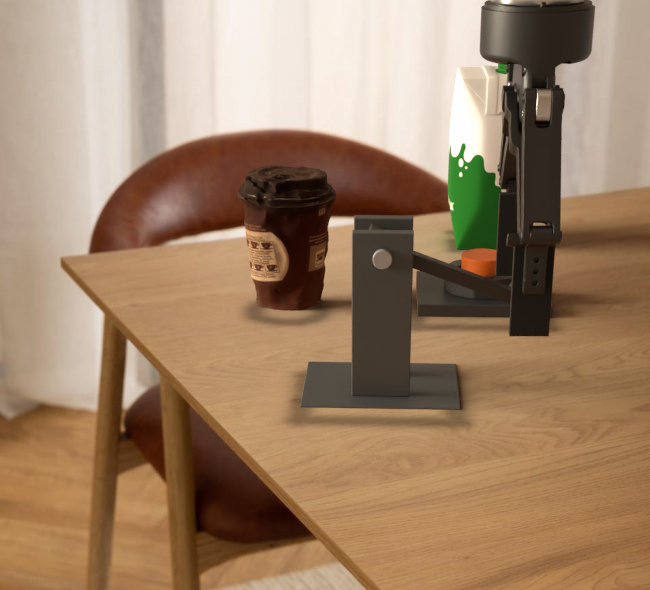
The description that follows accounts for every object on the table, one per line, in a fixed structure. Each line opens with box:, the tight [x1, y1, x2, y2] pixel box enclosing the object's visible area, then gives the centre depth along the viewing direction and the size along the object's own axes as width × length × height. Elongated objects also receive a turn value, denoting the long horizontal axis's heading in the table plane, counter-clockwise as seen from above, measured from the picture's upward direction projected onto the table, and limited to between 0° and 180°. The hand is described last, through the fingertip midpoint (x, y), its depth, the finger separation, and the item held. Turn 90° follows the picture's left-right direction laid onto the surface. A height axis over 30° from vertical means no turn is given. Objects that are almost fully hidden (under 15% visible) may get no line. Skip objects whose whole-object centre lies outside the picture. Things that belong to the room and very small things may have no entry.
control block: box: [415, 259, 554, 319], centre depth 110 cm, size 12×10×4 cm
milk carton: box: [447, 63, 507, 251], centre depth 126 cm, size 9×9×20 cm
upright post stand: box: [299, 214, 461, 411], centre depth 90 cm, size 12×9×14 cm
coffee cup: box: [237, 164, 337, 312], centre depth 108 cm, size 9×8×13 cm
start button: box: [460, 248, 496, 277], centre depth 109 cm, size 4×4×2 cm
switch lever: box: [369, 223, 512, 304], centre depth 88 cm, size 13×5×2 cm, turn 87°
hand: (520, 303), depth 89 cm, fingers open, 13 cm apart
